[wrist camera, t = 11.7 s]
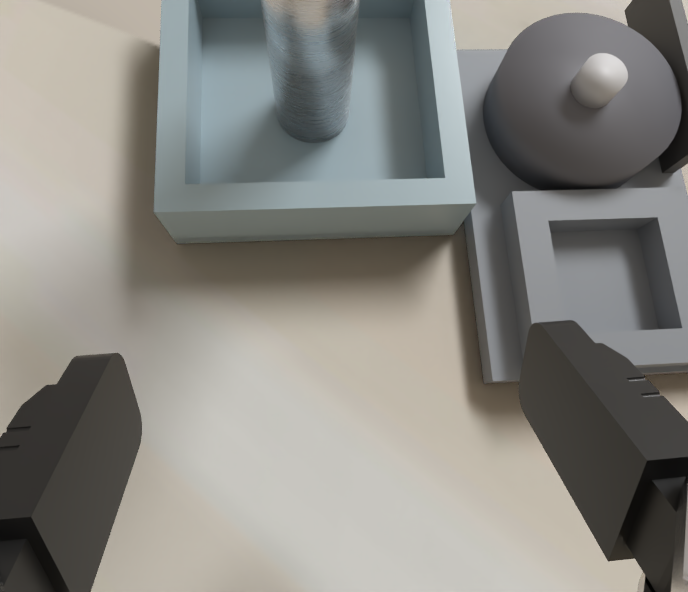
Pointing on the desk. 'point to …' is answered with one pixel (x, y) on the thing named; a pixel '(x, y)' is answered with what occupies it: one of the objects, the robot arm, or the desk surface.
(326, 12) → the pin
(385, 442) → the desk surface
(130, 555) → the desk surface
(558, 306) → the plate
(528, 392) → the robot arm
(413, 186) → the tray
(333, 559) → the desk surface
